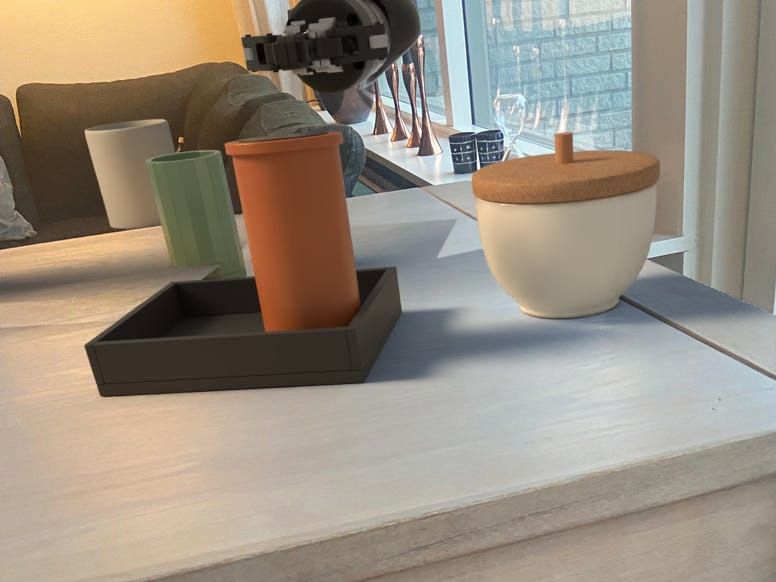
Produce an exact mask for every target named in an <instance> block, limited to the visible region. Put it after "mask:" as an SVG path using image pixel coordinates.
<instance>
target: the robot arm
mask: <svg viewBox="0 0 776 582" xmlns="http://www.w3.org/2000/svg"><path fill="white" fill-rule="evenodd" d="M421 32H422V23H421V16H420V12H419V9H418V7H417V5H416V4H415V1H414V0H300V1H299V2H298V3H296V4H295V6H294V7H293V8H292V10H291V12H290V13H289V16H288V19H287V21H286V24H285V26H284V31H283V33H281V34H273V32H268V33H265V35H264V34H263V35H252V34H244V36H242V37H240V39H241V40H240V41H241V45H242V49H243V50H242V51H243V56H244V61H245V66H246V71H247V72H251V73H258V72H272V73H273V74H276V73H280V71H282V72H286V71H287V72H288V71H291V73H292V75H293V76H295V75H296V76H297V77H298V79H300V81H301V82H302V83H304V84H305V85H306V86H307V87H309V88H310V89H312V90H314V91H317V92H320V93H323V94H339V93H343V92H345V91H348V90H350V89H352V88H354V89H357V90H363V89H366V88H368V87H370V85H372V84H373V83H375V82H376V81H377V80H378V79H379V78H380V77H381V76H382V75H383V74H384V73H385V72H386V71H388V69H389V68H391V67H392V66H393V65H394V64H395V63H396V62H397V61H398V60H399V59H400V58H401V57H402V56H403V55H405V54H406V53H407V52H408V51H409V50H410V49H411V48H412V47H413V46H414V45H415V44H416V43H417V41H418V40H419V38H420V36H421Z"/></svg>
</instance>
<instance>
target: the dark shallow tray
mask: <svg viewBox="0 0 776 582" xmlns="http://www.w3.org/2000/svg"><path fill="white" fill-rule="evenodd" d="M356 275H357V282H358V289H359V296H360V304H361V308H360V309H359V311H358V312H357V314H356V315H355V317H354V318H353V320H352V321H351V323H350V324H349V326H348V327H333V328H317V329H300V330H284V331H267V332H265V327H264V322H263V317H262V312H261V306H260V301H259V296H258V290H257V285H256V280H255V275H253V276H251V275H250V276H246V277H235V278H220V279H205V280H202V279H193V280H192V279H191V280H179V281H170V282H169V283H168V284H166V285H164V286H163V287H162V288H161V289H159V290H158V291H156V292H155V293H154V294H152V295H151V296H149V297H148V298H146V300H144V301H143V302H141V303H140V304H138V305H137V306H136V307H134V308H133V309H132V310H130V311H129V312H127V313H126V314H125V315H123V316H122V317H121V318H119V319H118V320H116V321H115V322H113V324H111V325H109V326H108V327H107V328H106V329H104V330H103V331H102V332H100V333H99V334H97V335H95V337H93V338H91V340H89V341H88V342H87V343H85V344H84V345H83V346H84V350H85V353H86V356H87V360H88V362H89V365H90V369H91V372H92V375H93V378H94V381H95V384H96V387H97V390H98V394H99V397H112V396H114V397H115V396H129V395H130V396H131V395H132V396H135V395H149V394H150V395H151V394H152V395H153V394H168V393H184V392H185V393H188V392H189V393H190V392H208V391H225V390H226V391H227V390H228V391H229V390H245V389H247V390H248V389H262V388H264V389H265V388H266V389H267V388H282V387H285V388H286V387H300V386H301V387H302V386H319V385H322V386H323V385H337V384H339V385H340V384H357V383H364V382H365V380H366V378H367V377H368V375H369V373H370V372H371V369H372V368H373V366H374V364H375V362H376V360H377V358H378V357H379V356H380V353H381V351H382V349H383V347H384V346H385V344H386V342H387V340H388V338H389V337H390V335H391V333H392V331H393V330H394V328H395V326H396V324H397V322H398V320H399V318H400V316H401V315H402V313H403V308H402V302H401V301H402V300H401V294H400V285H399V277H398V270H397V266H388V267H387V266H386V267H385V266H383V267H371V268H370V267H368V268H356Z"/></svg>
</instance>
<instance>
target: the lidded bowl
mask: <svg viewBox="0 0 776 582" xmlns="http://www.w3.org/2000/svg"><path fill="white" fill-rule="evenodd" d="M553 137H554V152H552V153H545V154H544V153H543V154H537V155H529V156H523V157H517V158H512V159H507V160H502V161H497V162H495V163H492V164H487V165H485V166H483V167H480V168H479V169H477V170H476V171H474V172H473V173H472V175H471V190H472V194H473V195H474V201H475V213H476V214H475V215H476V221H477V223H476V224H477V230H478V234H479V235H478V236H479V240H480V244H481V248H482V253H483V255H484V258H485V262H486V264H487V266H488V268H489V270H490V272H491V274H492V277H493V278H494V280H495V282H496V283H497V284H498V285H499V287H500V288H501V289H502V290H503V292H505V294H506V295H508V296H509V297H511V299H513V300H514V301H515V302H516V303H518V304H519V310H520V311H521V312H522V313H524V314H525V315H529V316H532V317H537V318H546V319H547V318H548V319H570V318H579V317H580V318H581V317H587V316H594V315H598V314H600V313H604V312H607V311H609V310H612V309H613V308H615V307H616V306H617V305H618V304H619V303H620V297H621V296H622V295H623V294H624V293H625V292H626V291H627V290H628V289H629V288H630V286H632V284H633V283H634V282H635V280H636V279H637V278H638V277H639V275H640V273H641V271H642V270H643V268H644V266H645V264H646V262H647V259H648V257H649V253H650V250H651V246H652V242H653V237H654V233H655V226H656V218H657V209H658V207H657V206H658V181H659V179H660V175H661V174H660V172H661V161H660V159H659V158H658V157H657V156H655V155H653V154H651V153H646V152H642V151H633V150H618V149H617V150H616V149H610V150H607V149H605V150H604V149H602V150H601V149H600V150H596V149H595V150H576V151H574V134H573V132H572V131H571V132H570V131H566V132H565V131H563V132H557V133H554V135H553Z"/></svg>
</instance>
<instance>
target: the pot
mask: <svg viewBox="0 0 776 582" xmlns="http://www.w3.org/2000/svg"><path fill="white" fill-rule="evenodd" d="M343 143H344V138H343V132H342V131H308V132H307V131H306V132H294V133H282V134H273V135H272V134H271V135H265V136H256V137H249V138H243V139H238V140H234V141H227V142H225V143H224V148H225V149H224V150H225V154H226V155H227V156H231V159H232V163H233V168H234V174H235V179H236V185H237V189H238V196H239V200H240V205H241V210H242V216H243V221H244V227H245V231H246V239H247V243H248V248H249V253H250V259H251V263H252V269H253V273H254V274H253V276H255V280H256V285H257V290H258V296H259V301H260V306H261V312H262V317H263V322H264V327H265V332H267V331H284V330H300V329H317V328H333V327H348V326H349V324H350V323H351V321H352V320H353V318H354V317H355V315H356V314H357V312H358V311H359V309H360V308H361V304H360V296H359V289H358V282H357V275H356V269H357V268H356V261H355V253H354V247H353V239H352V232H351V231H352V230H351V224H350V218H349V217H350V216H349V209H348V203H347V202H348V201H347V195H346V189H345V181H344V180H345V179H344V174H343V166H342V159H341V153H340V152H341V151H340V145H342V144H343Z"/></svg>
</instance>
